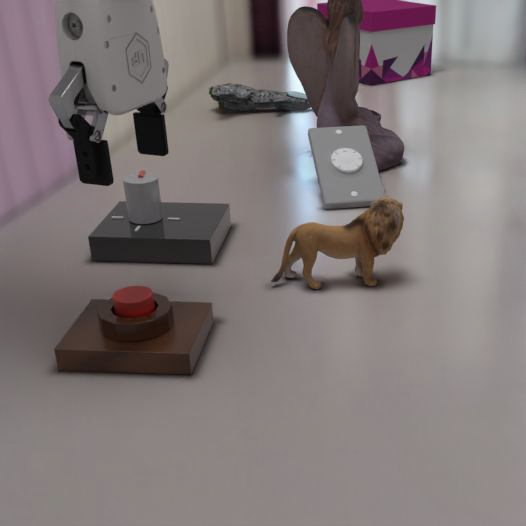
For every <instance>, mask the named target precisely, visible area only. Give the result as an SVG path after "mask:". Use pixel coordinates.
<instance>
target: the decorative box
mask: <svg viewBox="0 0 526 526" xmlns="http://www.w3.org/2000/svg"><path fill="white" fill-rule="evenodd" d="M361 1H362V5H363V13H364V17H363V20H362V23H361V24H360V25H359V29H360V59H359V83H361V84H365V85H369V86H374V85H379V84H385V83H390V82H397V81H401V80H402V81H403V80H409V79H414V78H419V77H420V78H421V77H425V76H431V74H432V56H433V39H434V37H433V36H434V25H436V20H437V19H436V17H437V5H436V4H435V5H434V4H428V3H421V2H414V1H407V0H361ZM316 9H317V10H319V11H320V12H321V13H322V14H323V15H324V17H325V18H326V19H328V15H327V2H318V3H316Z"/></svg>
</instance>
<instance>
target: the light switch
mask: <svg viewBox="0 0 526 526" xmlns="http://www.w3.org/2000/svg"><path fill="white" fill-rule="evenodd" d="M307 137H308V141H309V146H310V147H309V148H310V150H311V151H310V152H311V155H312V159H313V164H314V169H315V173H316V178H317V183H318V187H319V191H320V196H321V201H322V204H323V209H324V210H336V209H350V208H365V207H371V202H373V201H375V200H376V199H380V198H381V197H386V194H385V190H384V186H383V183H382V179H381V176H380V171H378V168H377V164H376V161H375V157H374V154H373V150H372V146H371V143H370V139H369V135H368V132H367V128H366V126H364V125H363V126H344V127H324V128H317V127H309V128H308V130H307Z"/></svg>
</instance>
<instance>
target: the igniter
mask: <svg viewBox="0 0 526 526" xmlns="http://www.w3.org/2000/svg"><path fill="white" fill-rule="evenodd" d="M153 295H154V303H155V311H154V312H152V313H151V314H149V315H146V316H142V317H137V318H122V317H119V316H116V314H115V310H114V304H113V297H110V298H109V299H106V298H105V299H103V298H102V299H101V298H99V299H98V298H92V299H90V301H89V302H88V303H87V304H86V306H85V307H84V308H83V309H82V311H81V313H80V314H79V315H78V316H77V318H76V319H75V320H74V322H73V323H72V324H71V326H70V327H69V328H68V330H67V331H66V332H65V334H64V335H63V337H62V338H61V339H60V340H59V342H58V343H57V345H56V346H55V347H54V348H53V351H54V356H55V361H56V365H57V370H58V371H60V372H61V371H64V372H66V371H67V372H90V373H91V372H94V373H96V372H97V373H123V374H124V373H126V374H127V373H128V374H156V375H158V374H159V375H184V376H185V375H186V376H187V375H189V376H190V375H192V374H193V372H194V369H195V367H196V365H197V362H198V361H199V357H200V355H201V353H202V350H203V349H204V346H205V344H206V341H207V340H208V336H209V334H210V332H211V329H212V327H213V325H214V323H215V320H214V310H213V309H214V308H213V302H211V301H210V302H209V301H208V302H207V301H177V300H176V301H171V300H170V299H169V298H168V297H167V296H166V295H164V294H160V293H157V292H155V291H153Z"/></svg>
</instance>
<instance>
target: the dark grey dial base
mask: <svg viewBox="0 0 526 526" xmlns="http://www.w3.org/2000/svg"><path fill="white" fill-rule="evenodd" d="M161 207H162V215H163V217H162V219H161V220H160V221H158V222H155V223H151V224H135V223H131V222H130V221H129V220H128V213H127V206H126V200H125V201H124V200H120V201H118V202H117V204H116V205H115V206H114V207H113V208H112V209H111V210H110V211H109V212H108V214H107V215H106V216H105V217H104V218H103V219H102V220H101V221H100V223H99V224H98V225H97V226H96V227H95V228H94V229H93V230H92V232H90V234H89V235H88V236H87V239H88V245H89V252H90V256H91V257H90V258H91V261H92V262H120V263H121V262H123V263H159V264H160V263H161V264H162V263H163V264H193V265H194V264H196V265H197V264H199V265H200V264H201V265H213V263H214V261H215V259H216V257H217V255H218V253H219V251H220V249H221V247H222V245H223V243H224V241H225V239H226V238H227V237H226V236H227V235H228V233H229V231H230V229H231V228H232V220H231V208H230V203H219V202H218V203H215V202H213V203H212V202H175V201H174V202H171V201H170V202H169V201H161Z"/></svg>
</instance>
